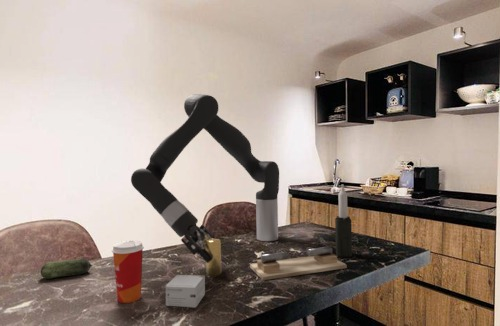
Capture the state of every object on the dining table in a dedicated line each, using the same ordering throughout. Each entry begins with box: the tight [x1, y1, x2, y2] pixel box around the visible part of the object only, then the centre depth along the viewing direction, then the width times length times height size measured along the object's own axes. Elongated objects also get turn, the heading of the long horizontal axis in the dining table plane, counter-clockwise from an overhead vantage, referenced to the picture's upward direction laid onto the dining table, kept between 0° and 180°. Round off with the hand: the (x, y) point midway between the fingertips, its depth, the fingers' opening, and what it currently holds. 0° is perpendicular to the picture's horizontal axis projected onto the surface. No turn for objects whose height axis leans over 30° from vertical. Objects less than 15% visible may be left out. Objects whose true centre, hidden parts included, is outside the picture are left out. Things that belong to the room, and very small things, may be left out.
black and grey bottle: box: [334, 184, 353, 258], centre depth 116 cm, size 5×5×25 cm
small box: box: [165, 274, 206, 308], centre depth 82 cm, size 8×8×5 cm
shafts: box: [260, 246, 333, 263], centre depth 103 cm, size 2×24×2 cm, turn 108°
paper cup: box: [111, 240, 145, 304], centre depth 83 cm, size 8×8×14 cm
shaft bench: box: [249, 253, 348, 281], centre depth 104 cm, size 12×28×3 cm, turn 108°
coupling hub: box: [205, 238, 222, 277], centre depth 100 cm, size 5×5×10 cm
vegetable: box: [40, 257, 93, 280], centre depth 101 cm, size 14×5×5 cm, turn 113°
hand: (215, 256), depth 100 cm, fingers open, 8 cm apart
